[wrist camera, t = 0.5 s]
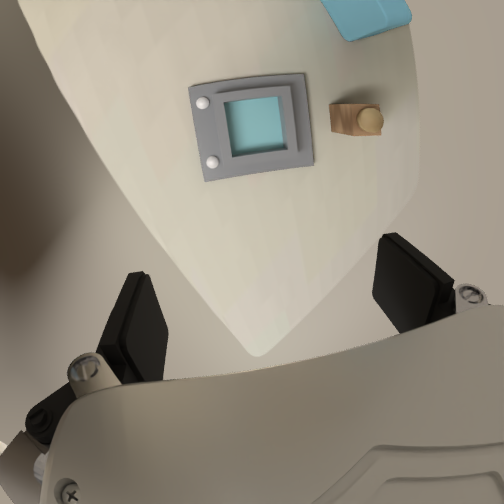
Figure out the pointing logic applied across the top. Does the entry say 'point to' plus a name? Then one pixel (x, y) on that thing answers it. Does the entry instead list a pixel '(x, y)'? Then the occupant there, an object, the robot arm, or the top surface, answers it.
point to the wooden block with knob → (356, 119)
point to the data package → (367, 16)
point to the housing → (252, 125)
